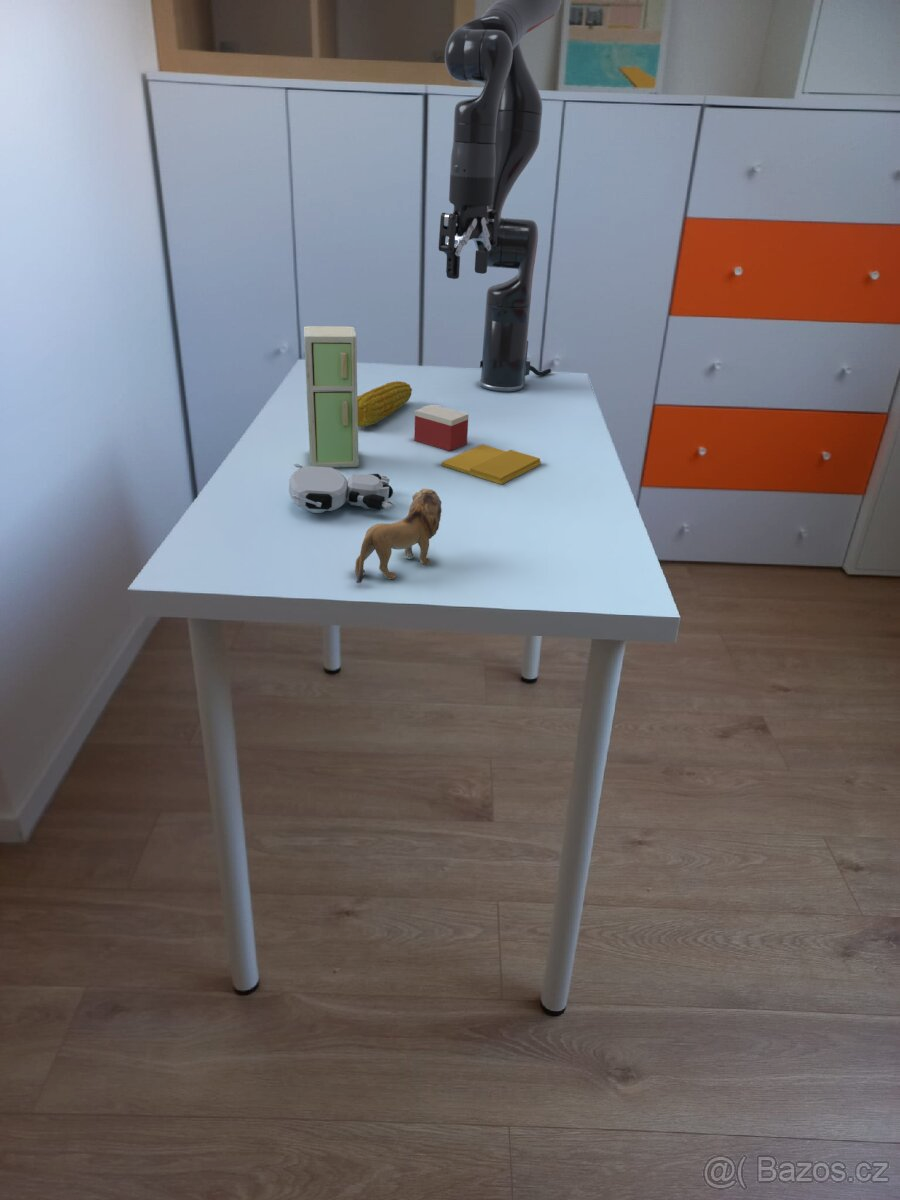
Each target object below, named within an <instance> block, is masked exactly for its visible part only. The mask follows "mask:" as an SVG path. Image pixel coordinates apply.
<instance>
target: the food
mask: <svg viewBox="0 0 900 1200" xmlns="http://www.w3.org/2000/svg"><path fill="white" fill-rule="evenodd" d="M412 392H413V388H412V387H411V385H410V384H409V383H408V382H405V381H399V380H396V381H389V382H387V383H385V384H382V385H380V386H377V387H374V388H372V389H370V390H368V391H366V392H364V393H362V394H360V395H357V406H358V427H364V428H366V427H368V426H370V427H371V426H372V425H375V424H377V423H379V422H380V421H382V420H384V419H386V418H387V417H389V416H391V415H392V414H394V413H395V412H396V411H398V410H400V409H401V407H403V406H404V405H405V404H406V403H407V402H408V401H409V400H410V399H411V397H412Z"/></svg>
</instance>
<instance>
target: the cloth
mask: <svg viewBox="0 0 900 1200" xmlns="http://www.w3.org/2000/svg"><path fill="white" fill-rule="evenodd" d="M541 464H542V461H541V457H537V456H534V455H530V454H527V453H523V452H519V451H516V450H513V449H509V450H503V449H501V448H500V449H499V448H496V447H493V446H489V445H486V444H480V445H478V446H476V447H473V448H471V449H469V450H466V451H464V452H462V453H459V454H457V455H455V456H452V457H450V458H448V459H446V460H443V461H442V462H441V466H442V467H445V468H448V469H451V470H454V471H457V472H461V473H464V474H467V475H470V476H473V477H477V478H479V479H483V480H485V481H490V482H493V483H495V484H498V485H503V484H506V483H508V482H509V481H511V480H513V479H515V478H518V477H520V476H521V475H523V474H526V473H527V472H529V471H531V470H533V469H535V468H536V467H539V466H541Z"/></svg>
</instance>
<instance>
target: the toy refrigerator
mask: <svg viewBox="0 0 900 1200" xmlns="http://www.w3.org/2000/svg"><path fill="white" fill-rule="evenodd" d="M303 336H304V338H303V341H304V361H305V362H304V363H305V366H304V367H305V384H306V387H305V388H306V406H307V423H308V424H307V425H308V444H309V445H308V447H309V466H317V467H331V468H334V469H335V468H358V467H359V466H360V465H359V462H360V461H359V456H360V455H359V426H358V406H357V396H358V353H357V352H358V351H357V349H358V348H357V347H358V346H357V342H358V341H357V334H356V329H355V326H348V325H347V326H346V325H345V326H344V325H321V326H320V325H305V326H304V327H303Z"/></svg>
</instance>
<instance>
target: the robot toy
mask: <svg viewBox="0 0 900 1200" xmlns="http://www.w3.org/2000/svg"><path fill="white" fill-rule="evenodd" d="M293 466H294V467H295V468H298V469H297V470H295V471H294V472H293V473H292V474H291V476H290V478H289V480H288V494H289V496H290V499H291V500H292V502H293V503H294V504H296V505H297V506H298V507H299V508H301V509H304V510H307V511H309V512H310V513H313V514H322V513H324V512H326V511H327V512H332V511H334V510H338V509H339V508H341V507H342V506H343V505H345V503H346V502H348V503H349V505H351V506H355V507H362V508H363V509H366V510H377V511H382V510H383V509H385V510H392V509H393V508H394V507H395V502H394V501H392V500H389V499H391V498H392V496H393V494H394V489H393V488H392V486H391V485H389V484H390V478H389V477H388V476H387V475H380V473H370V474H351V475H350V476H349V477H346V476H344V474H343V473H342V472H341V471H340V470H338V469H336V468H335V467H334V468H331V467H317V466H311V465H305V466H303V465H301V464H299V463H294V464H293Z"/></svg>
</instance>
